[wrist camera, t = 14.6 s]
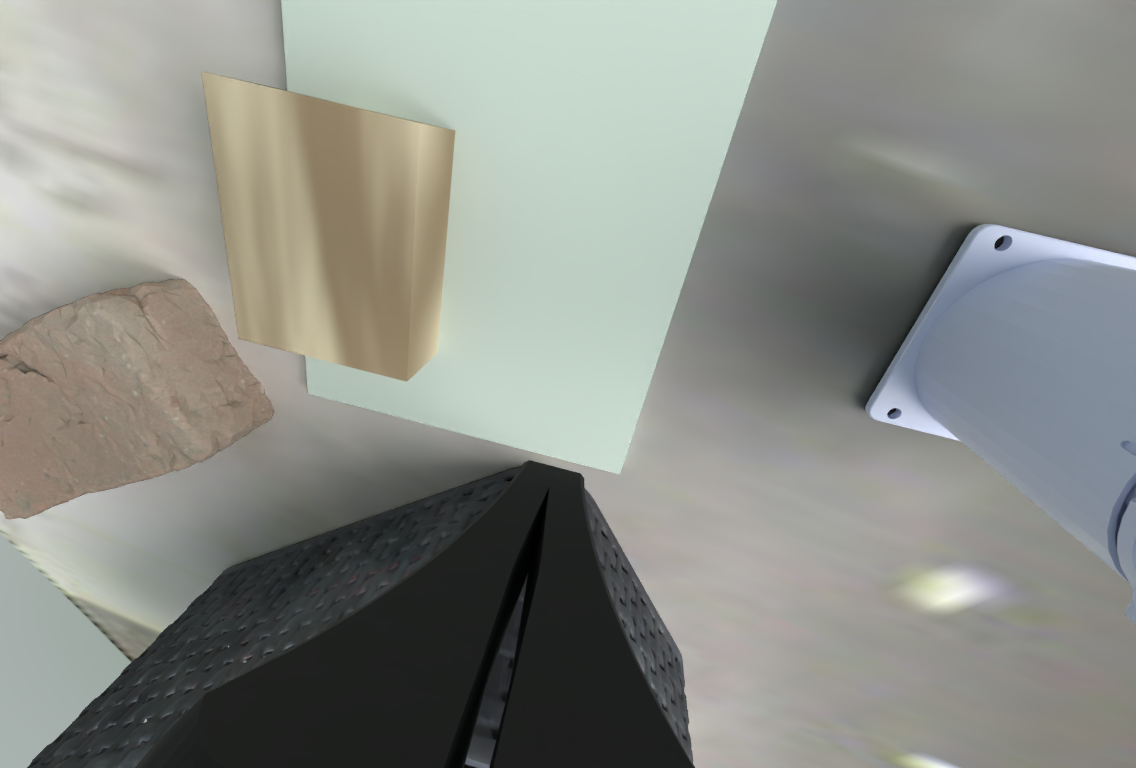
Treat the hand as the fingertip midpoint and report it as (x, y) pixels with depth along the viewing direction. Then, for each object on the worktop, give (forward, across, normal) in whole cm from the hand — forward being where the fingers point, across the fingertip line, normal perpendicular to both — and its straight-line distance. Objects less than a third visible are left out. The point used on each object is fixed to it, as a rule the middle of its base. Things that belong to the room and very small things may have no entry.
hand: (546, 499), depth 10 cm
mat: (+10, +5, -4) cm, 12 cm away
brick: (+11, +24, +9) cm, 28 cm away
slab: (+8, +7, -2) cm, 11 cm away
